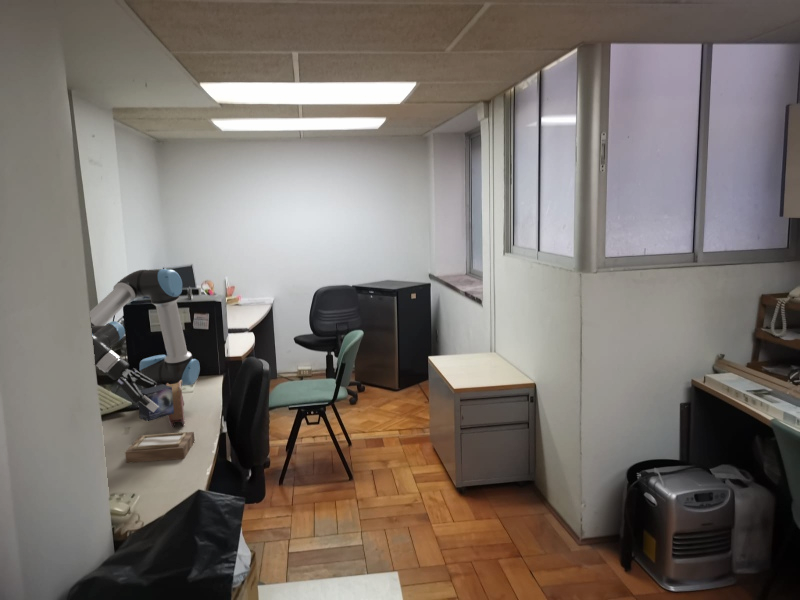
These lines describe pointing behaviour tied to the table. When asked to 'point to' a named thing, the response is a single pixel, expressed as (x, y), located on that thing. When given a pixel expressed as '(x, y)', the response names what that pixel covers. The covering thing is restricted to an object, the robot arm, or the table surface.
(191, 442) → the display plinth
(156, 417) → the small box
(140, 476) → the table surface
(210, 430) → the table surface
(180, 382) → the face sculpture
